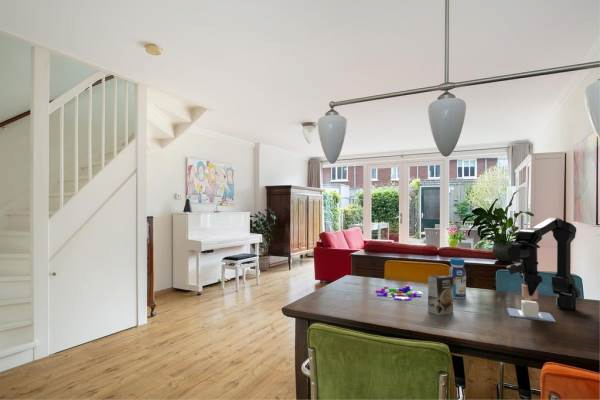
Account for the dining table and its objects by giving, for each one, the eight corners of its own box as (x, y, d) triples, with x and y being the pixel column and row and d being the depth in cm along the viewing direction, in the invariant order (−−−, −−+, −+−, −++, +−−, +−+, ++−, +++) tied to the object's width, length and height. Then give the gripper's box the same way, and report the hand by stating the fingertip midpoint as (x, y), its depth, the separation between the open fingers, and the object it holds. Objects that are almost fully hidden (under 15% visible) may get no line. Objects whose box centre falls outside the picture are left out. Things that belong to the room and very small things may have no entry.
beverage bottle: (450, 293, 178) (450, 257, 178) (467, 296, 173) (467, 258, 173) (447, 297, 171) (446, 259, 171) (464, 300, 166) (464, 260, 166)
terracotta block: (535, 296, 144) (535, 285, 144) (537, 299, 139) (537, 287, 139) (521, 295, 146) (521, 283, 146) (523, 297, 142) (523, 286, 142)
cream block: (536, 313, 144) (536, 301, 144) (538, 316, 139) (538, 304, 139) (521, 311, 146) (521, 300, 146) (523, 314, 141) (523, 303, 141)
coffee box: (438, 315, 141) (438, 278, 142) (427, 311, 147) (427, 275, 147) (454, 313, 145) (453, 276, 145) (442, 309, 151) (442, 273, 151)
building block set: (380, 300, 165) (380, 292, 165) (374, 290, 186) (374, 282, 186) (430, 302, 163) (430, 293, 163) (419, 291, 184) (419, 283, 184)
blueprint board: (549, 314, 144) (549, 312, 144) (556, 322, 133) (556, 321, 133) (506, 308, 151) (506, 307, 151) (509, 316, 141) (509, 315, 141)
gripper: (505, 254, 155) (505, 287, 155) (510, 260, 138) (510, 297, 138) (533, 256, 150) (534, 290, 150) (542, 262, 133) (542, 300, 133)
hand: (529, 294), depth 143 cm, fingers closed on terracotta block, 5 cm apart
